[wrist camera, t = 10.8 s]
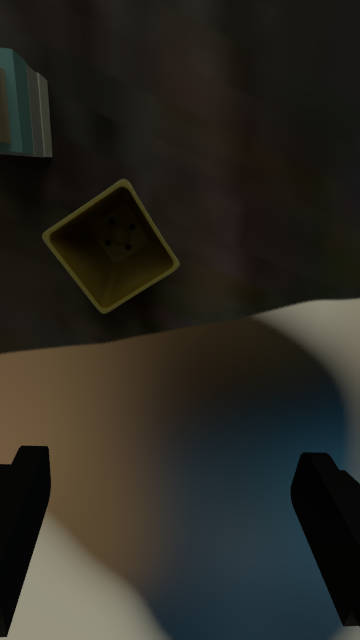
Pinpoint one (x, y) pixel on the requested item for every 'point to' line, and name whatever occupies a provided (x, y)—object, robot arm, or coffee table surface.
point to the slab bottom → (45, 115)
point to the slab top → (17, 103)
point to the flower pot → (111, 247)
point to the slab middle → (33, 117)
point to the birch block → (4, 110)
